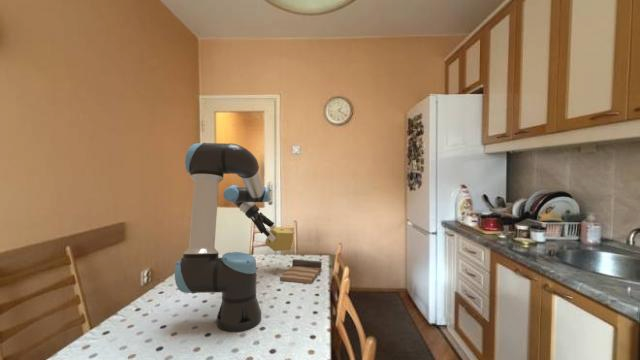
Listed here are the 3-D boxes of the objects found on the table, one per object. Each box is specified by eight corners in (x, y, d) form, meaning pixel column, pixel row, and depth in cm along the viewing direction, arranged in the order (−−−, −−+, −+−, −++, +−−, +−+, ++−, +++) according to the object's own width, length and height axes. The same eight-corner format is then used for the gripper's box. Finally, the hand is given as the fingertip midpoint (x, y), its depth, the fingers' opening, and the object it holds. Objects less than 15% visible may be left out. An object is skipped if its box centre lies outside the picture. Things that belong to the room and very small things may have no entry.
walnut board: (311, 283, 137) (311, 273, 137) (279, 280, 141) (279, 270, 141) (321, 270, 157) (321, 261, 157) (293, 268, 161) (293, 259, 161)
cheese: (264, 244, 156) (268, 226, 155) (281, 244, 163) (284, 226, 162) (274, 251, 148) (277, 232, 147) (291, 250, 155) (295, 232, 154)
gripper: (252, 211, 168) (277, 237, 167) (236, 216, 143) (265, 247, 142) (261, 202, 168) (286, 228, 167) (246, 206, 143) (276, 237, 142)
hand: (277, 237), depth 155 cm, fingers closed on cheese, 13 cm apart
